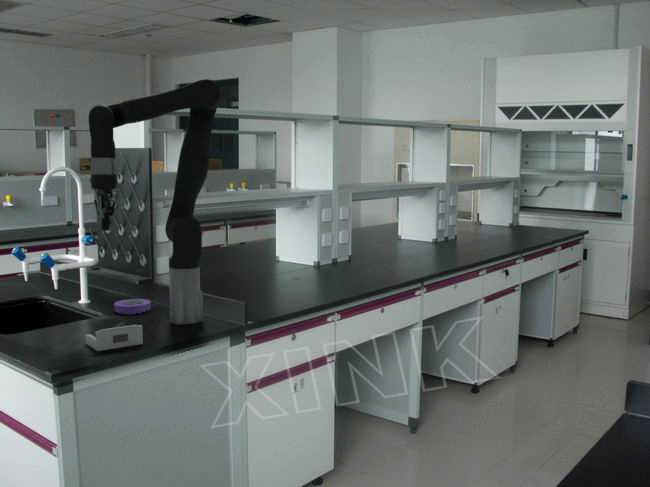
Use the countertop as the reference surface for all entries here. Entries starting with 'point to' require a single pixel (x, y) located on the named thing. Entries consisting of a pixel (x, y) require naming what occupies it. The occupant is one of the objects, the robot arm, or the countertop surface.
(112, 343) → the dock
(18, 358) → the countertop surface
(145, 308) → the masking tape
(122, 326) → the mineral rock
